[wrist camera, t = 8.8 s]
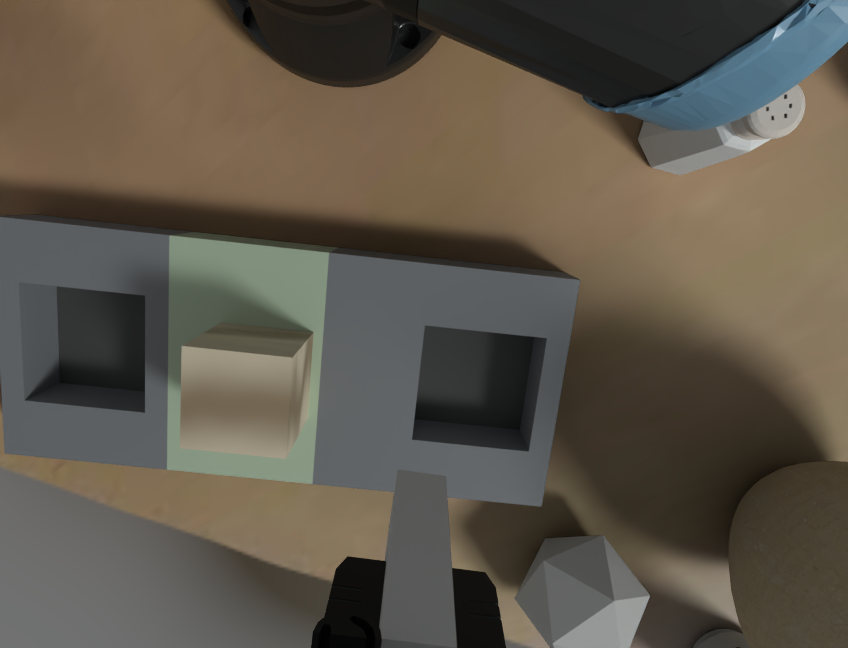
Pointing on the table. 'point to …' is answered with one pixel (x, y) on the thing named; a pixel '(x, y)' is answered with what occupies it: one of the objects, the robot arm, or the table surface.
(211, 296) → the board
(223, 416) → the birch block
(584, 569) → the die
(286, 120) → the table surface
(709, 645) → the energy drink can
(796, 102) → the pepper shaker
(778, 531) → the vase
